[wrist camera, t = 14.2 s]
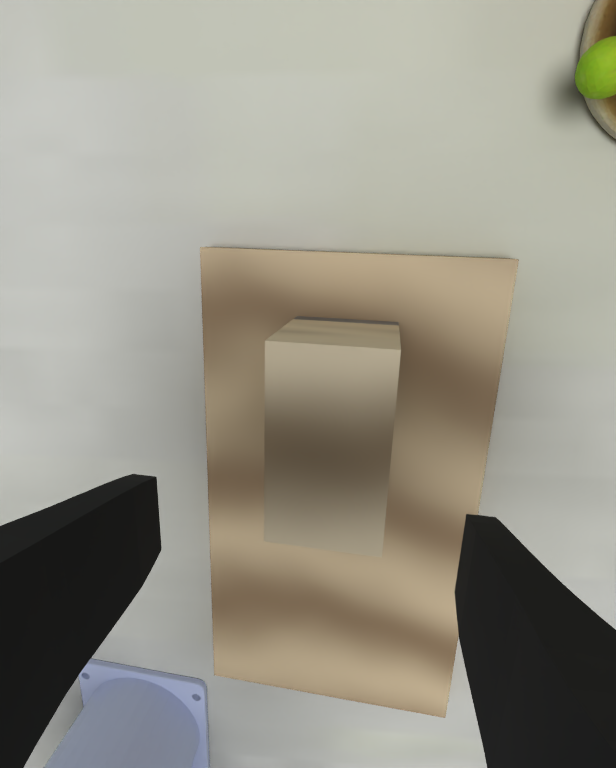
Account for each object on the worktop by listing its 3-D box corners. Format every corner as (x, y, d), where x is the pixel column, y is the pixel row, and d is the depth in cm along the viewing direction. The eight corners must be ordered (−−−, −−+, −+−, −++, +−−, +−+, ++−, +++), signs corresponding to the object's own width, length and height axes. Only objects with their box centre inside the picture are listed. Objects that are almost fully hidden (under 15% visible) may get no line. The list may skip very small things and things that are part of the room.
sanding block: (384, 483, 20) (381, 557, 15) (293, 473, 21) (263, 541, 16) (398, 322, 18) (400, 350, 13) (296, 316, 19) (265, 340, 14)
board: (442, 695, 24) (445, 718, 23) (222, 656, 26) (214, 675, 25) (510, 258, 18) (518, 259, 17) (211, 247, 20) (199, 247, 19)
